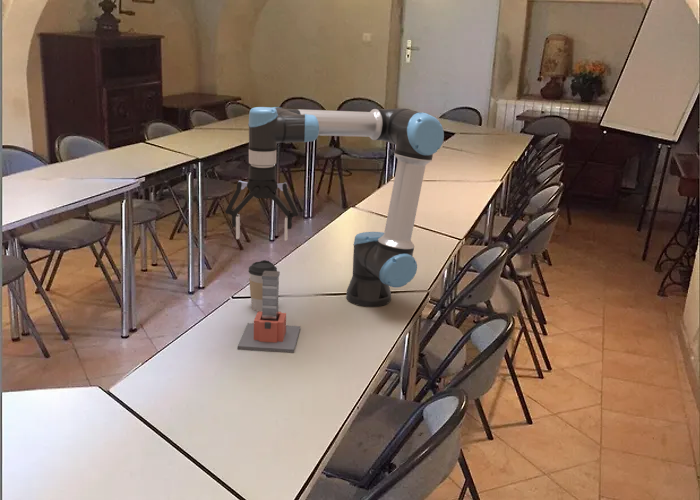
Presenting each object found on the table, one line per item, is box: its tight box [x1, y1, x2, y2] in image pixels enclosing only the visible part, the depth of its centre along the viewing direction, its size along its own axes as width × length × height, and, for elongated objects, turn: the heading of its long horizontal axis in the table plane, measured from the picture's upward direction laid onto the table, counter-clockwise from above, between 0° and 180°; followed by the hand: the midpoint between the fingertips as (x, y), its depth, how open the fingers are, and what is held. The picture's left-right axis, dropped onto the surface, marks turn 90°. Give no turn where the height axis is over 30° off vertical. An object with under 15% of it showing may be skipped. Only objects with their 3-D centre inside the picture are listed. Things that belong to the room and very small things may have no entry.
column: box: [261, 270, 281, 321], centre depth 205 cm, size 4×4×19 cm
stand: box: [237, 311, 301, 354], centre depth 208 cm, size 16×16×7 cm
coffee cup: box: [248, 259, 278, 312], centre depth 229 cm, size 9×9×15 cm
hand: (262, 238), depth 203 cm, fingers open, 13 cm apart
